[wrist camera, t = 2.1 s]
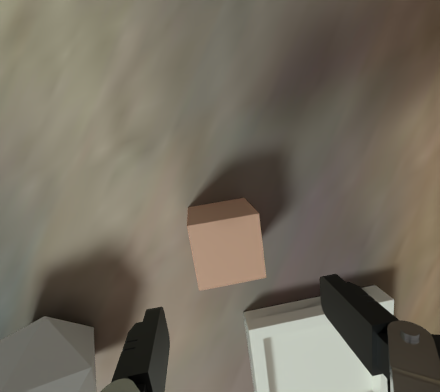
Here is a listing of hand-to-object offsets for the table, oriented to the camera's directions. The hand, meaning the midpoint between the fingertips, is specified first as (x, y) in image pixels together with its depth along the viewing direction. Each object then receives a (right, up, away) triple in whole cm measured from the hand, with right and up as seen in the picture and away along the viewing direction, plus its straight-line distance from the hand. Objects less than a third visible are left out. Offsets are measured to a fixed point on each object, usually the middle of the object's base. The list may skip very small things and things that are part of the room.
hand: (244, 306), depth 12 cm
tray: (+9, -12, +14) cm, 20 cm away
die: (-16, -8, +11) cm, 21 cm away
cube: (-1, +3, +10) cm, 10 cm away
